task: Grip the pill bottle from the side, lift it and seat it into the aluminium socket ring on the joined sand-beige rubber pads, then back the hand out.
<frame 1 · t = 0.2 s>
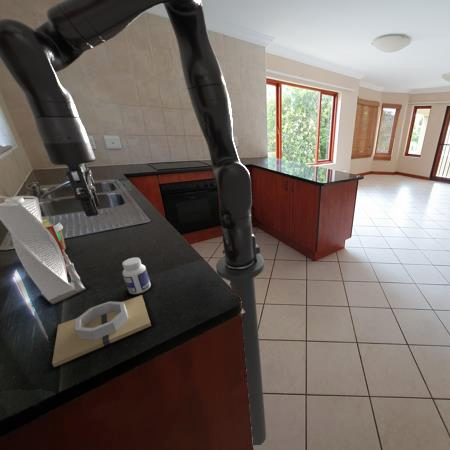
hand: (93, 210, 57), 23 cm above the counter, tool pointing down, fingers open, 8 cm apart
pill bottle: (140, 289, 66), on the counter
food container: (47, 256, 81), on the counter
baking soda box: (55, 272, 72), on the counter
pad dock: (105, 326, 53), on the counter
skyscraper: (60, 293, 64), on the counter
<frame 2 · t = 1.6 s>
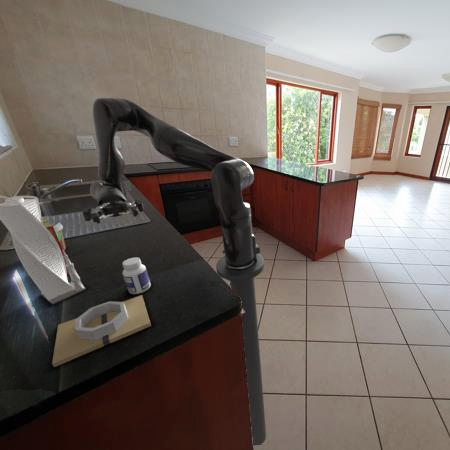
hand: (117, 216, 66), 18 cm above the counter, tool horizontal, fingers open, 8 cm apart
nothing on the counter moved.
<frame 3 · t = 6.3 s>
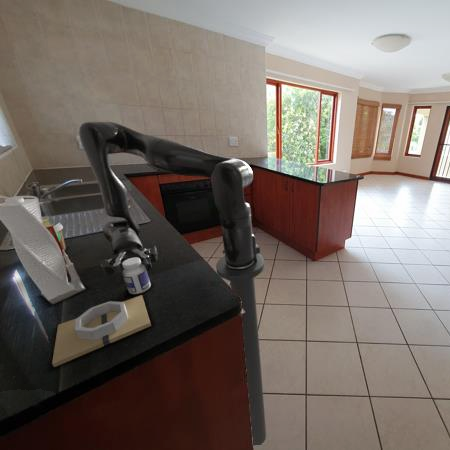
hand: (134, 271, 61), 7 cm above the counter, tool horizontal, fingers closed on pill bottle, 5 cm apart
pill bottle: (140, 289, 66), on the counter, touching gripper
everything else where it was.
when the fingers open (8 cm above the counter, at t = 13.4 s): pill bottle stays where it is, resting on pad dock.
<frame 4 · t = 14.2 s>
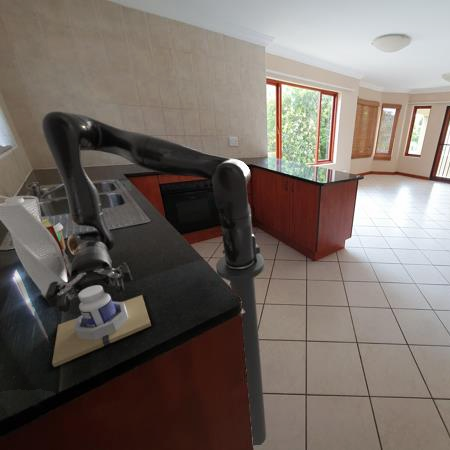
hand: (92, 299, 49), 9 cm above the counter, tool horizontal, fingers open, 8 cm apart
pill bottle: (104, 323, 53), point 1 cm above the counter, touching pad dock
everything else where it was.
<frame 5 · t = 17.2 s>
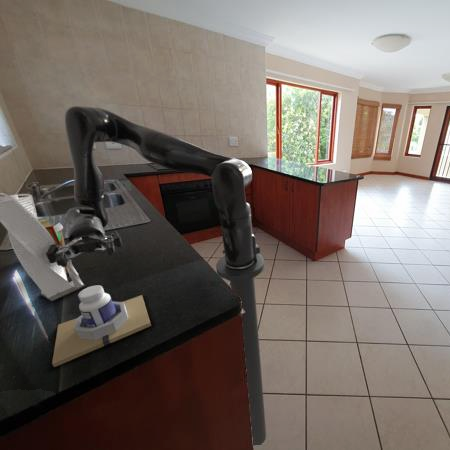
hand: (87, 257, 56), 13 cm above the counter, tool horizontal, fingers open, 8 cm apart
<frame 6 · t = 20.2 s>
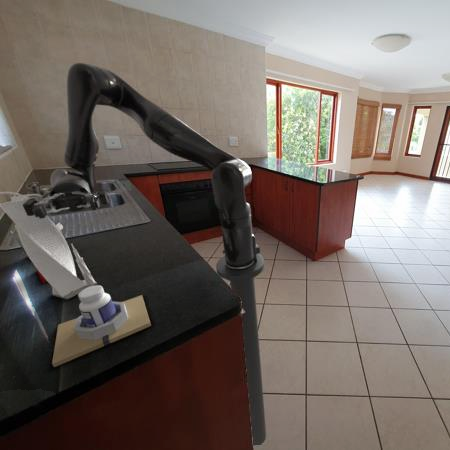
hand: (67, 209, 51), 25 cm above the counter, tool horizontal, fingers open, 8 cm apart
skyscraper: (72, 291, 64), on the counter, touching hand
everything else where it was.
at the end: pill bottle 0.2 cm off-centre on the pad dock, point 0.9 cm above the pad dock's base; pill bottle tilted 0°; the gripper is holding nothing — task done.
